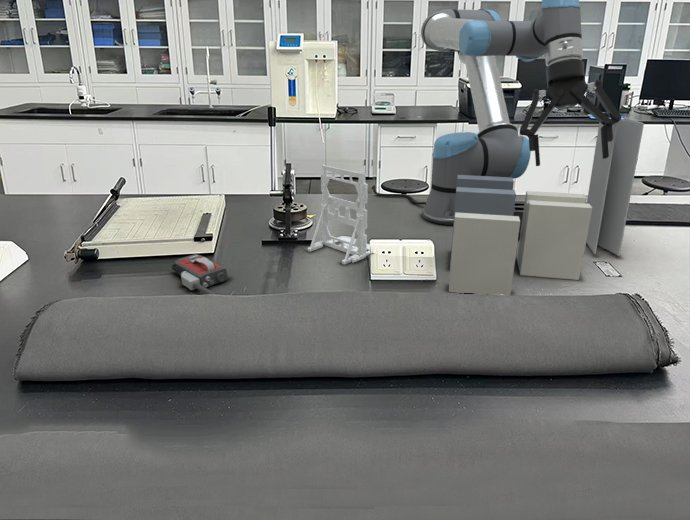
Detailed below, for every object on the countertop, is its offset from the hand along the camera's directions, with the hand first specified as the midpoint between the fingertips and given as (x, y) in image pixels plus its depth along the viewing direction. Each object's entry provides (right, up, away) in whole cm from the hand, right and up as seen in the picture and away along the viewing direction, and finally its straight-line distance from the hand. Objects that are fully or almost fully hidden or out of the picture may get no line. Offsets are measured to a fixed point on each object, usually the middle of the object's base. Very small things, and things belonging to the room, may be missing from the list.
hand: (571, 161), depth 115 cm
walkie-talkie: (-79, -26, -3) cm, 83 cm away
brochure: (+14, -18, +16) cm, 27 cm away
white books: (-4, -23, +3) cm, 24 cm away
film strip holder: (-49, -19, +14) cm, 54 cm away
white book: (-22, -28, -8) cm, 36 cm away
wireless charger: (-2, -13, +28) cm, 31 cm away
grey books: (-19, -22, +6) cm, 30 cm away
